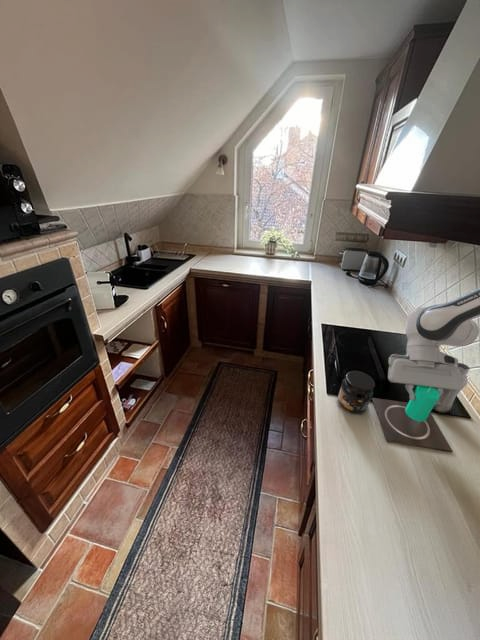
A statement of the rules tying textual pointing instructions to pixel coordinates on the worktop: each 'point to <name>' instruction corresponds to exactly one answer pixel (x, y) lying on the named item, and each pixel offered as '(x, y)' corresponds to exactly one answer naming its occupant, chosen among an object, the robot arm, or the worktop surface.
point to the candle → (422, 403)
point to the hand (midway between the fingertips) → (424, 401)
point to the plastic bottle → (451, 392)
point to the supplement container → (356, 392)
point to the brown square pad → (408, 426)
